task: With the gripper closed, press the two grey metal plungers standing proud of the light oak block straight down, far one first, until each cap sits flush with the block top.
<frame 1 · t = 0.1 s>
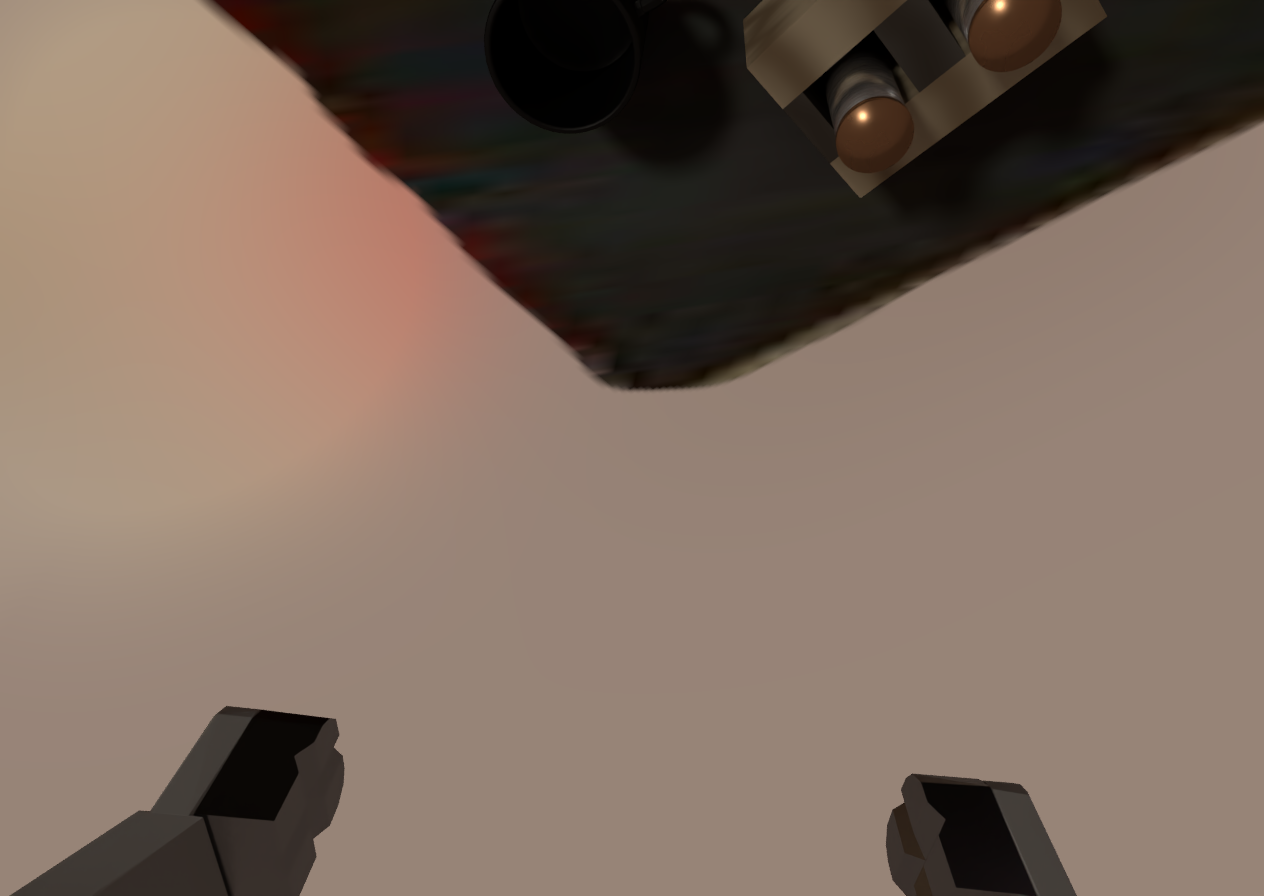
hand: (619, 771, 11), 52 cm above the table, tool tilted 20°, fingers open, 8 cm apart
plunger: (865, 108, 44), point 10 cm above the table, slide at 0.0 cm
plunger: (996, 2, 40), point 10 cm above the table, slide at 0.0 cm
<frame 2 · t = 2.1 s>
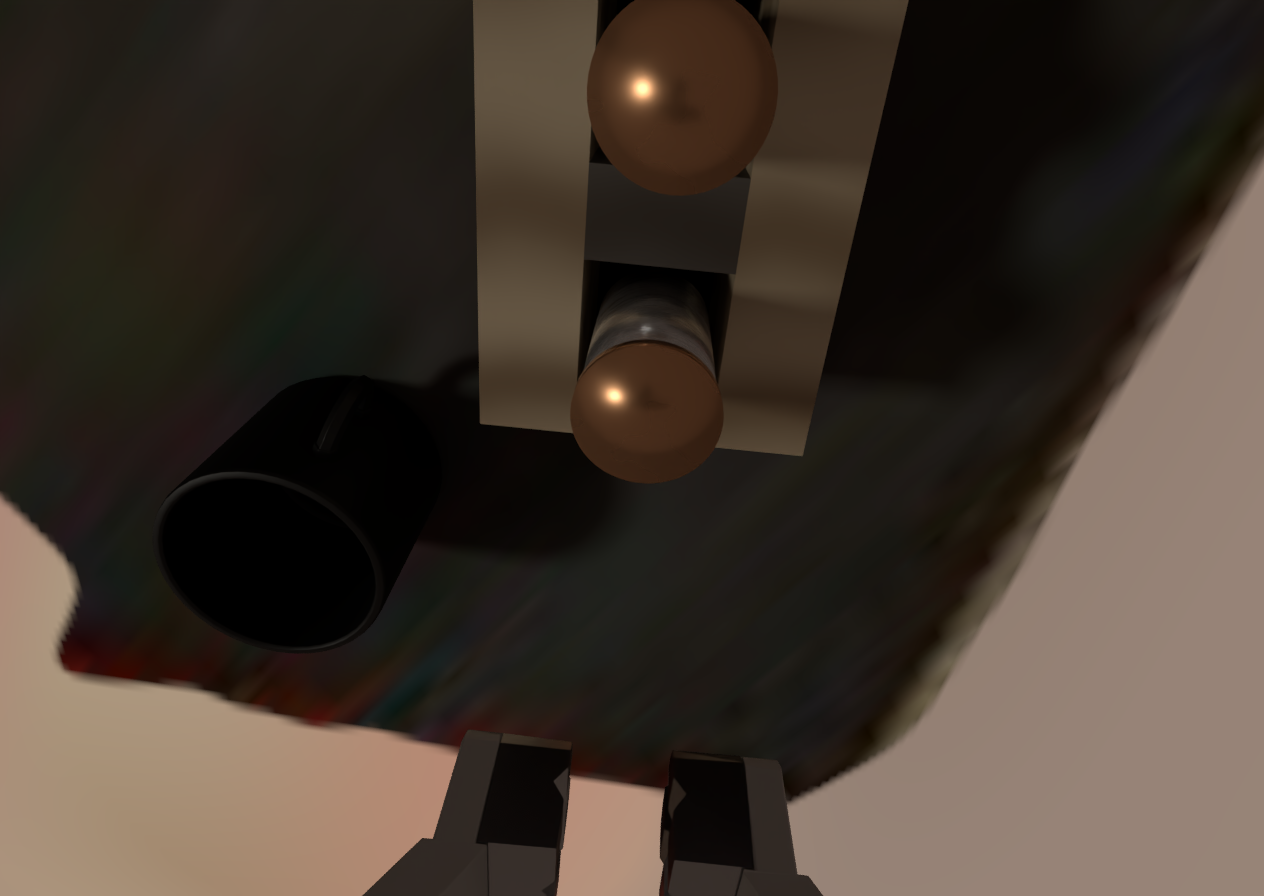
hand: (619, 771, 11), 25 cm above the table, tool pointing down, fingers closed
mug: (361, 437, 38), on the table
oak block: (666, 176, 30), on the table
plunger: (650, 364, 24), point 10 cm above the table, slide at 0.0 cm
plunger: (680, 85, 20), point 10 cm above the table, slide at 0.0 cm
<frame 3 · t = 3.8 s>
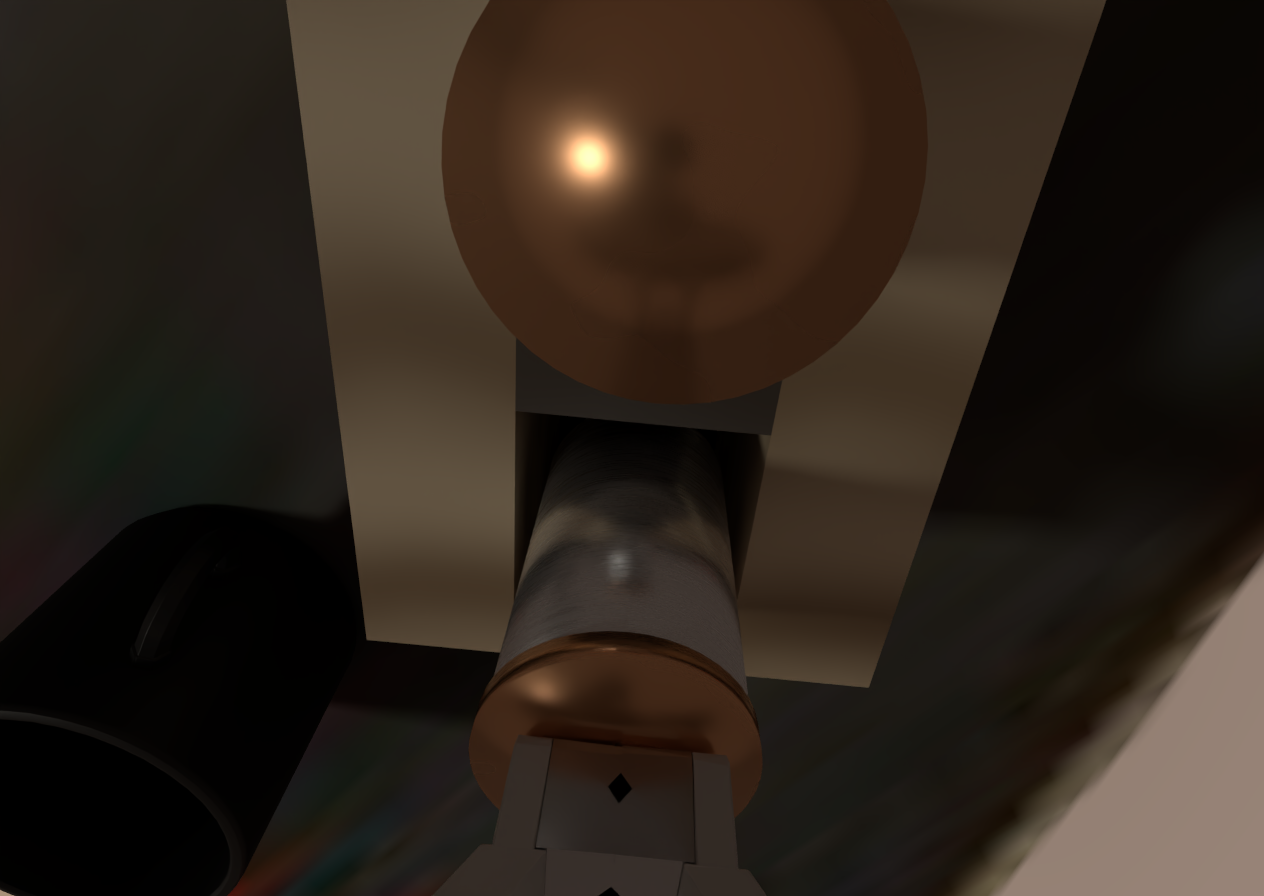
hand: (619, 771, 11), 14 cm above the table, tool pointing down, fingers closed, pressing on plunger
mug: (246, 579, 28), on the table
oak block: (657, 241, 21), on the table
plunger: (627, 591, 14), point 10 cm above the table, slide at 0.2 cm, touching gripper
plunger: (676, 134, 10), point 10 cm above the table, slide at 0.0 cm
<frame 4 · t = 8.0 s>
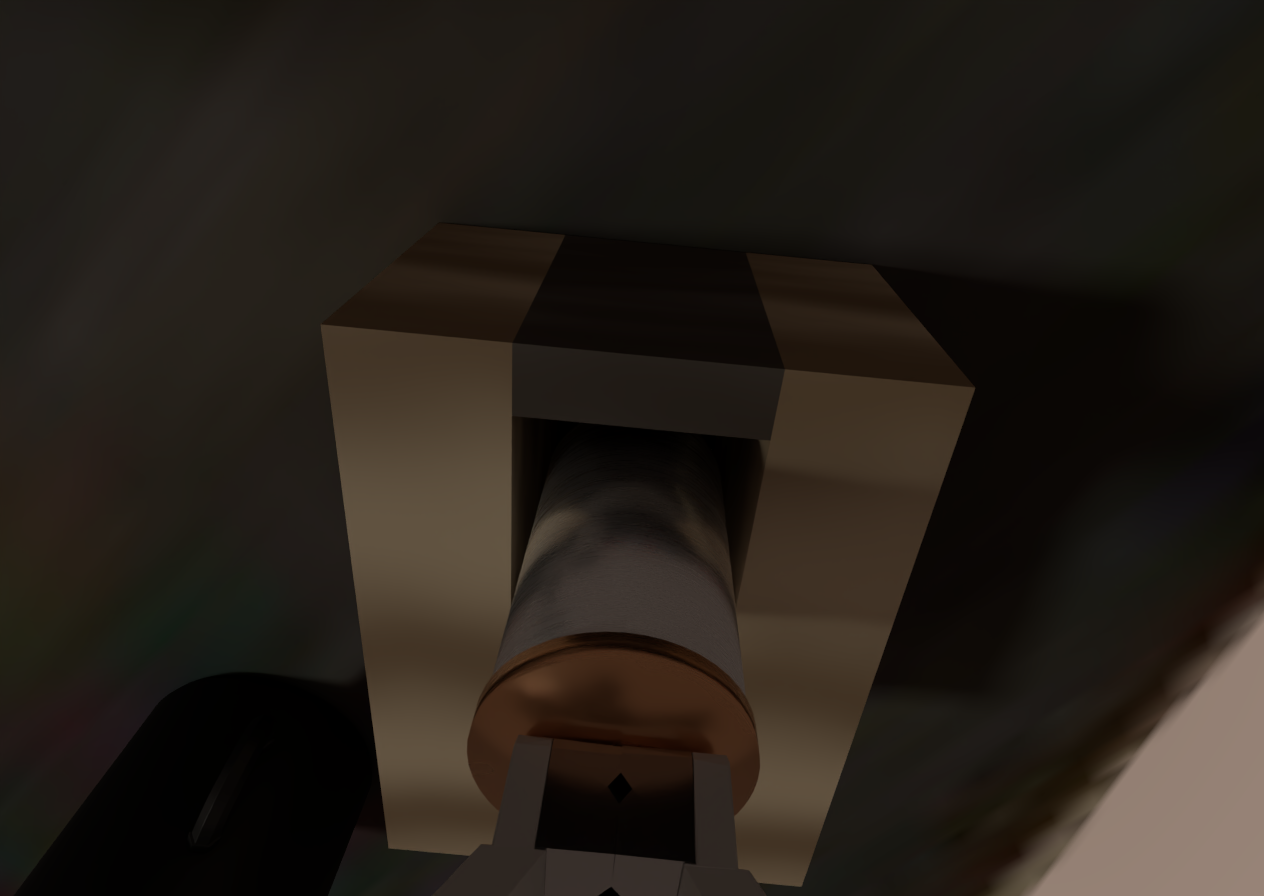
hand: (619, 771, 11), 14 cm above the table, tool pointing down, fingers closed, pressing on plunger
mug: (275, 728, 32), on the table
oak block: (631, 486, 24), on the table
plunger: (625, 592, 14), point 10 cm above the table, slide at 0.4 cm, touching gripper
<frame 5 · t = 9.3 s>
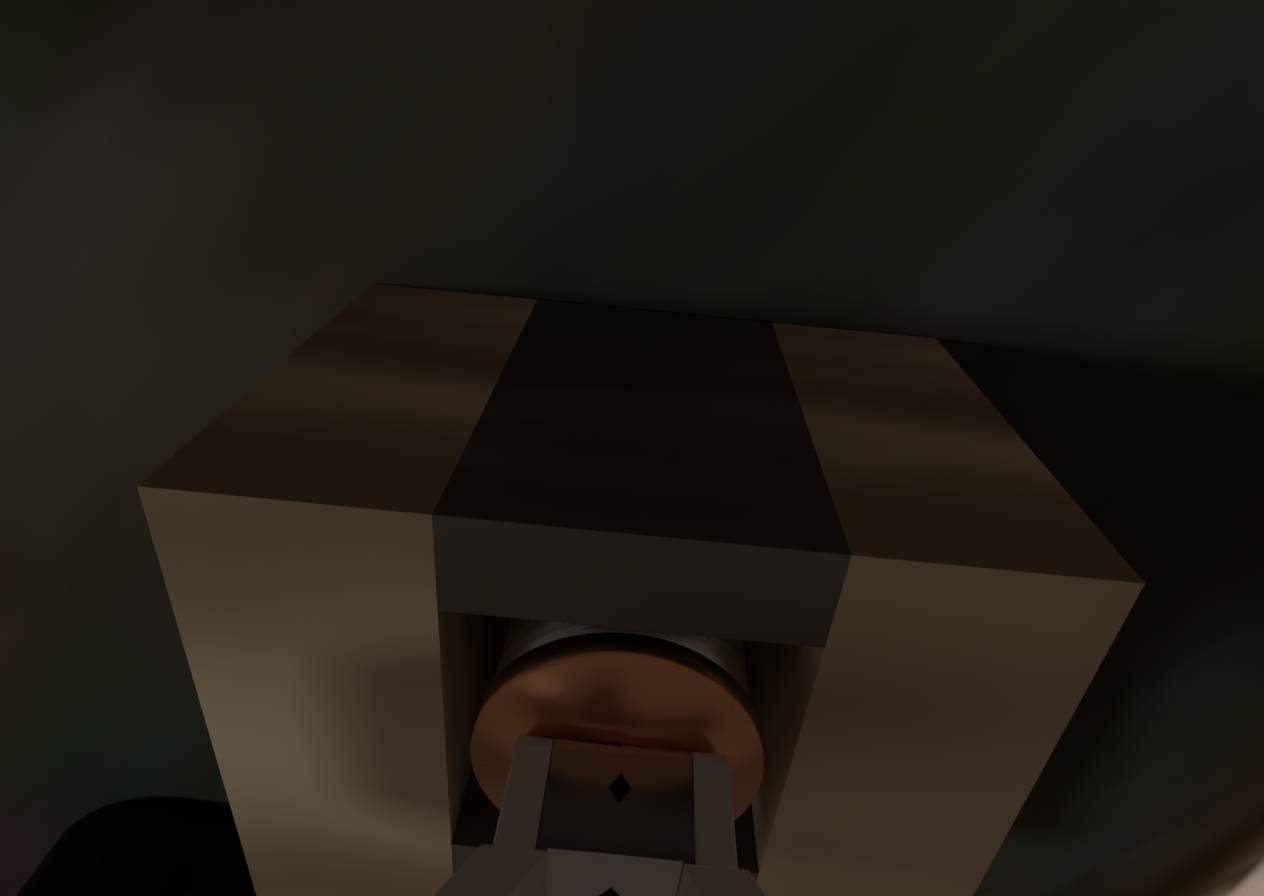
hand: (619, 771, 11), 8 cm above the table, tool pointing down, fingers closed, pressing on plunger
mug: (207, 853, 27), on the table
oak block: (624, 599, 20), on the table
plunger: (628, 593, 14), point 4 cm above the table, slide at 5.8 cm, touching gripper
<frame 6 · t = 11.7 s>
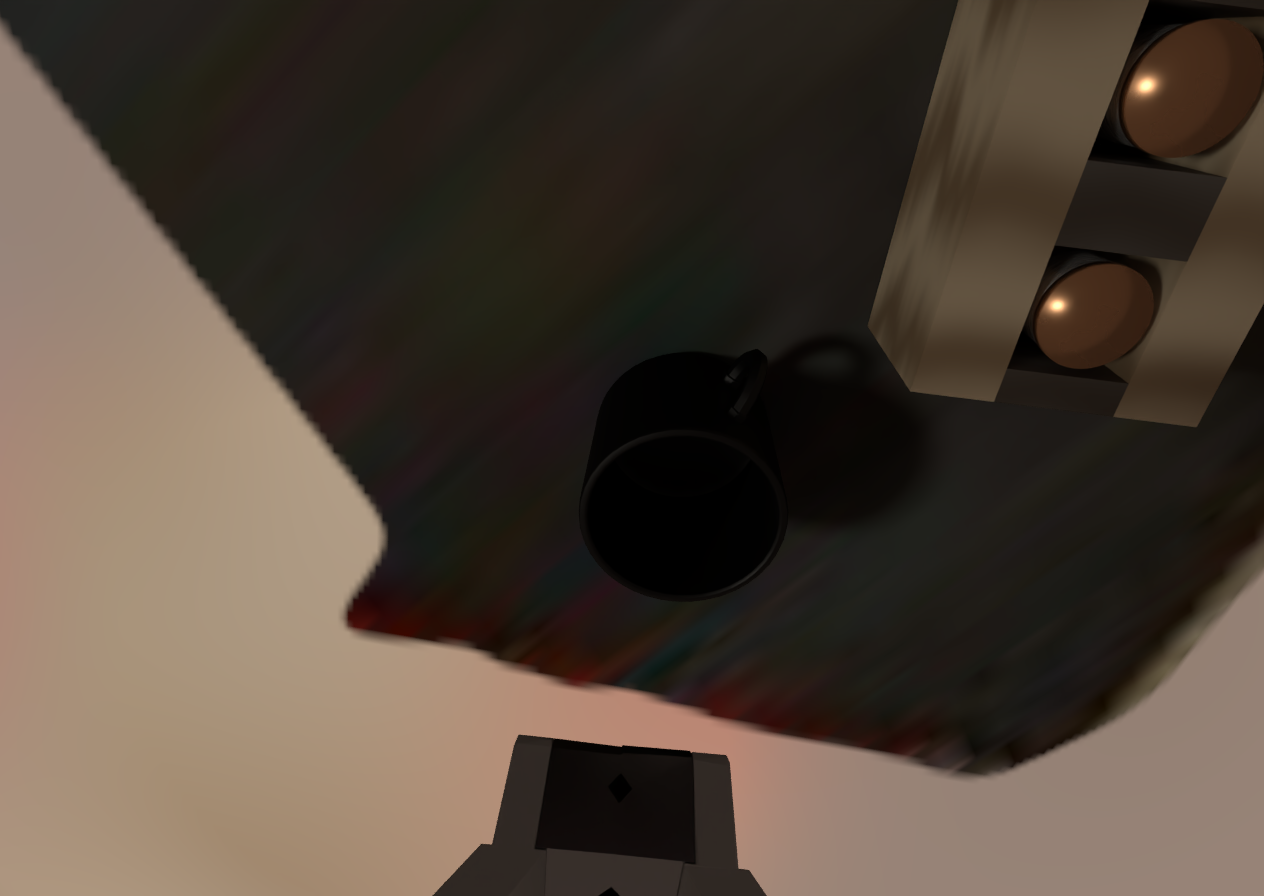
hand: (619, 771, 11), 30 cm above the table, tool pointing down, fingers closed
mug: (693, 409, 41), on the table
oak block: (1043, 176, 34), on the table
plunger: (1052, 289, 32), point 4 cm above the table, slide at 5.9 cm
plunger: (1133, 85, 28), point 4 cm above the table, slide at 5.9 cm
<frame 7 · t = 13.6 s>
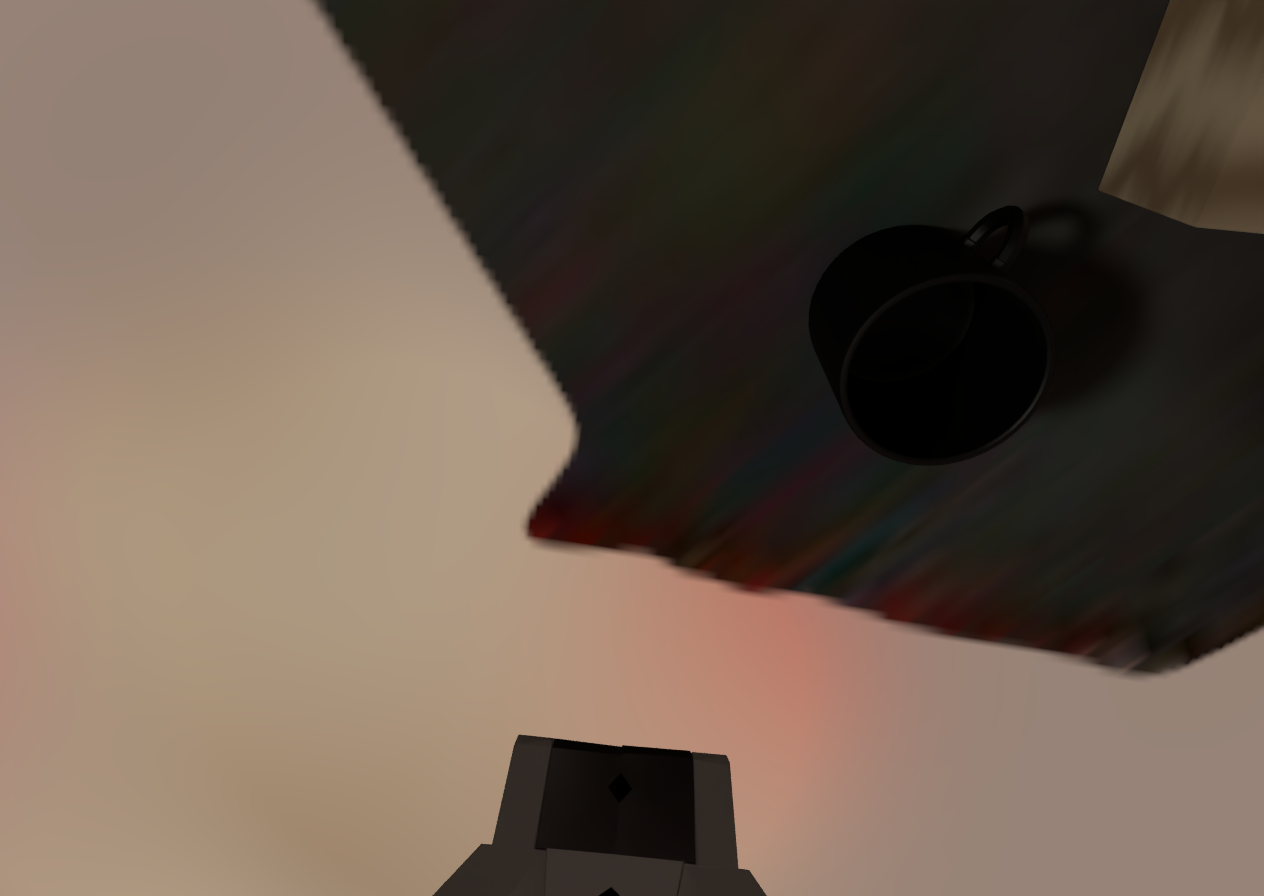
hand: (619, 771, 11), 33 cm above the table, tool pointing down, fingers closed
mug: (907, 288, 41), on the table
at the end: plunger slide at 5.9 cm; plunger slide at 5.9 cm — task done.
